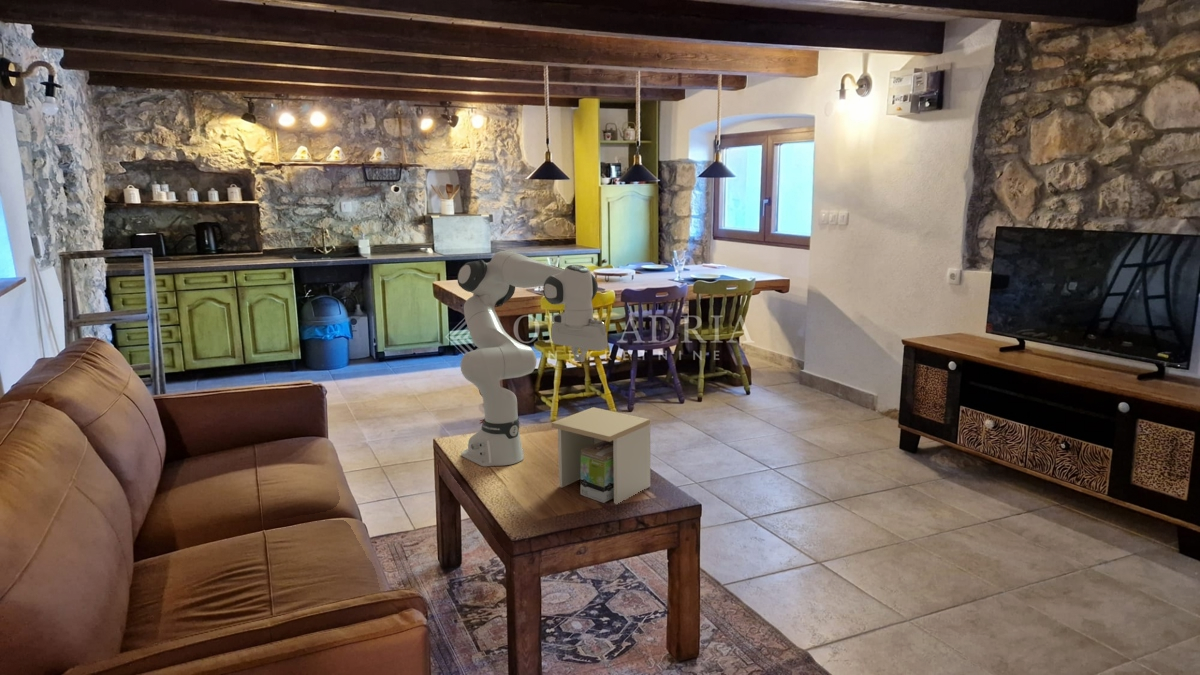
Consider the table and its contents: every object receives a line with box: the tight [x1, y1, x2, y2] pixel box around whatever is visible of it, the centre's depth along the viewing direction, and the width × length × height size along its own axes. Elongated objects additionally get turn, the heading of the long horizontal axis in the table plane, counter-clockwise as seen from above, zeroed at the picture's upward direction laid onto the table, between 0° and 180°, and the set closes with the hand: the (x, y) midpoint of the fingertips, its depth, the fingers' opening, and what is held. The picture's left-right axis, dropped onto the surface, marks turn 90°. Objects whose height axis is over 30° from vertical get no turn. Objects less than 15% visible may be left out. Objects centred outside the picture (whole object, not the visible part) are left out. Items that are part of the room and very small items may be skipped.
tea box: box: [579, 440, 614, 504], centre depth 229 cm, size 15×10×15 cm, turn 139°
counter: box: [551, 406, 651, 505], centre depth 231 cm, size 22×20×22 cm
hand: (579, 361), depth 239 cm, fingers closed
